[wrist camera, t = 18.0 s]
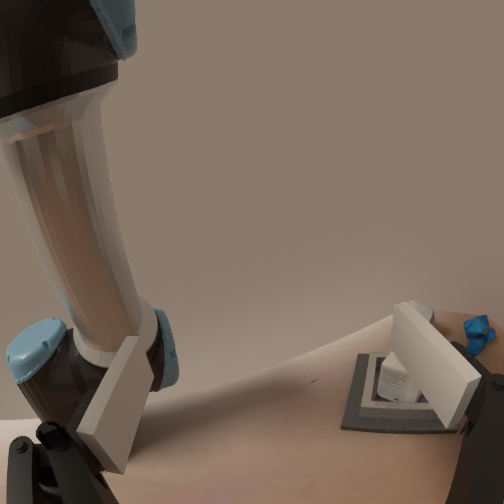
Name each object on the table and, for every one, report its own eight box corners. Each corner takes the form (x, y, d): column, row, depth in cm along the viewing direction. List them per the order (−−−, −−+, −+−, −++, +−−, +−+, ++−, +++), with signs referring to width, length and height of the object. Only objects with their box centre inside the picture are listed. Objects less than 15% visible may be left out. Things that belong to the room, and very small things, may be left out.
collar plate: (340, 429, 39) (342, 416, 38) (357, 357, 56) (359, 343, 55) (456, 432, 31) (463, 419, 30) (446, 360, 48) (450, 346, 47)
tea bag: (420, 353, 52) (428, 313, 50) (400, 340, 59) (405, 302, 56) (430, 347, 53) (438, 307, 51) (410, 334, 60) (416, 297, 57)
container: (393, 371, 48) (403, 313, 45) (428, 382, 43) (443, 323, 39) (375, 395, 43) (385, 336, 40) (412, 409, 38) (430, 349, 34)
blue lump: (505, 317, 45) (488, 326, 40) (492, 352, 47) (473, 366, 42) (481, 306, 52) (461, 313, 47) (470, 340, 53) (448, 351, 49)
